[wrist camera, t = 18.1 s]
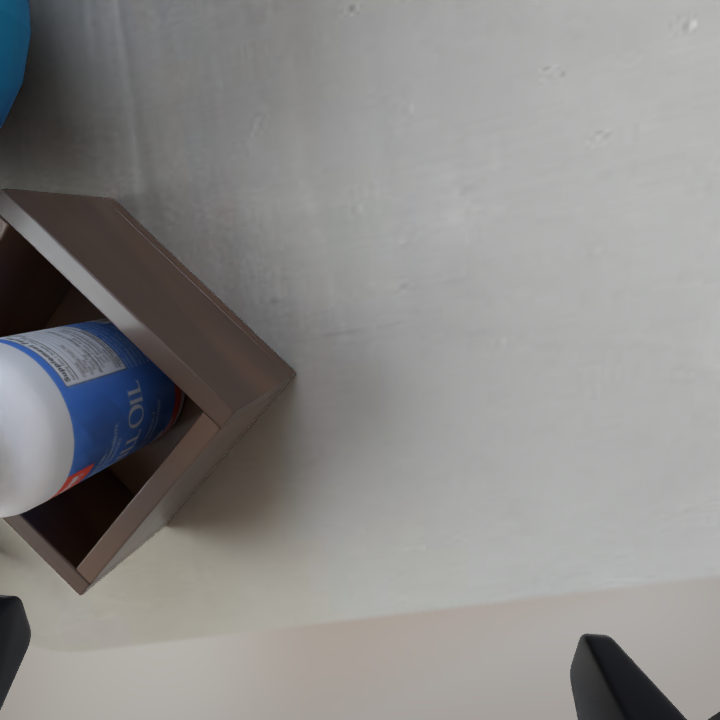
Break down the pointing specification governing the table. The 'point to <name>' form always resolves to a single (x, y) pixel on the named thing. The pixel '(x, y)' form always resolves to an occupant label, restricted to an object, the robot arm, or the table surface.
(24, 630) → the robot arm
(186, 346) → the holder
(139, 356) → the pill bottle
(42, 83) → the table surface
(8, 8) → the decorative orb
